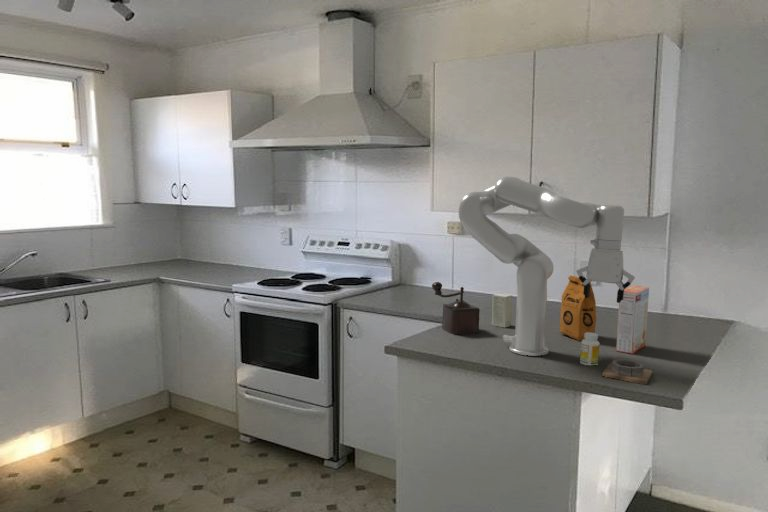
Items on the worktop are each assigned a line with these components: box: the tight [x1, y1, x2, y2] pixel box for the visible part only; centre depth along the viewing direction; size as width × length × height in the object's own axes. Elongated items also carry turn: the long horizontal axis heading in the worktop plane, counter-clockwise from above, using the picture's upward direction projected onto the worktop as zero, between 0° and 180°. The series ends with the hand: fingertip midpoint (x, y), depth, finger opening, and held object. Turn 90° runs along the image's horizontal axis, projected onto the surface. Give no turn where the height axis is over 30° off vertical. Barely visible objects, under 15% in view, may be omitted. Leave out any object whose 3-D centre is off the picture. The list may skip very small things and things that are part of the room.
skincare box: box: [491, 293, 512, 328], centre depth 238 cm, size 6×4×12 cm
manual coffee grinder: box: [431, 281, 480, 336], centre depth 228 cm, size 16×11×18 cm
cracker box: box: [615, 285, 650, 355], centre depth 210 cm, size 14×6×21 cm, turn 141°
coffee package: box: [559, 275, 597, 342], centre depth 223 cm, size 10×12×22 cm
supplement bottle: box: [579, 332, 601, 366], centre depth 191 cm, size 5×5×10 cm
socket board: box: [601, 358, 653, 386], centre depth 181 cm, size 12×12×4 cm
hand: (602, 299), depth 192 cm, fingers open, 9 cm apart
